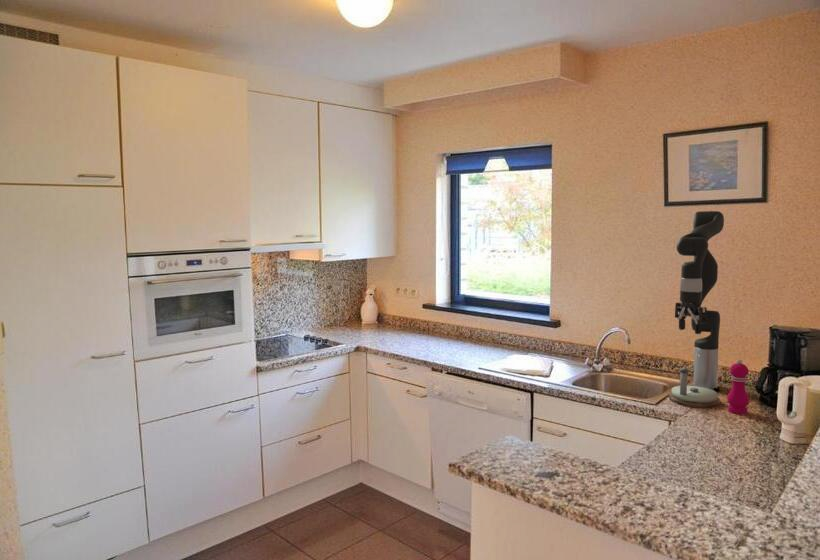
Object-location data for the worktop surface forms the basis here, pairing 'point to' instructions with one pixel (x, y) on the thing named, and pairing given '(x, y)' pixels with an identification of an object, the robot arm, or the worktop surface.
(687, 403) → the grey flat disc
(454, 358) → the worktop surface
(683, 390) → the dial
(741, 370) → the pepper mill
